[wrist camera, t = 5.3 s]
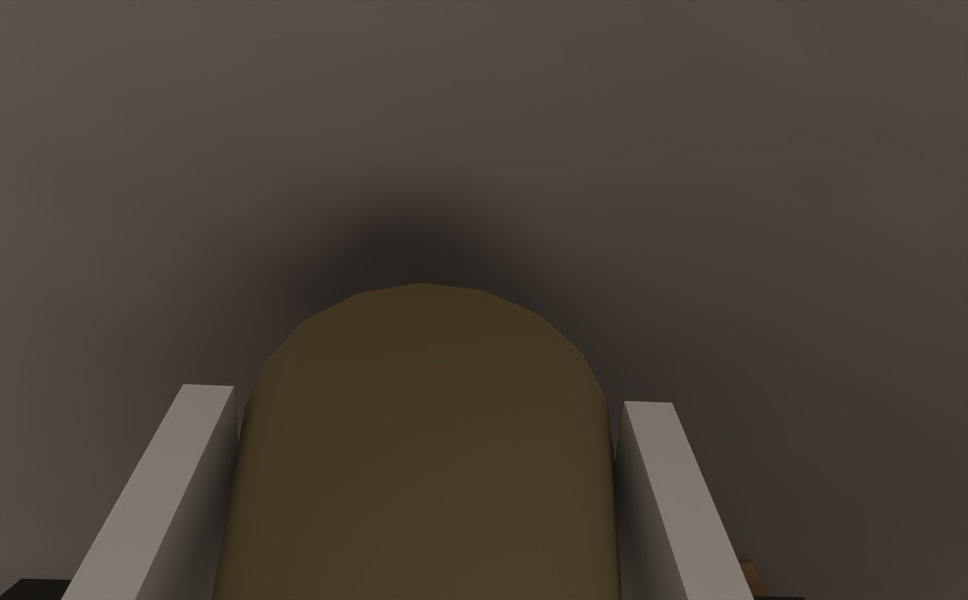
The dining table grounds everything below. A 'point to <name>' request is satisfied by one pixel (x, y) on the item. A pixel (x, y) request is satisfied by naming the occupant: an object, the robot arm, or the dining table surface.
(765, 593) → the walnut cube
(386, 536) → the cork
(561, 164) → the dining table surface
